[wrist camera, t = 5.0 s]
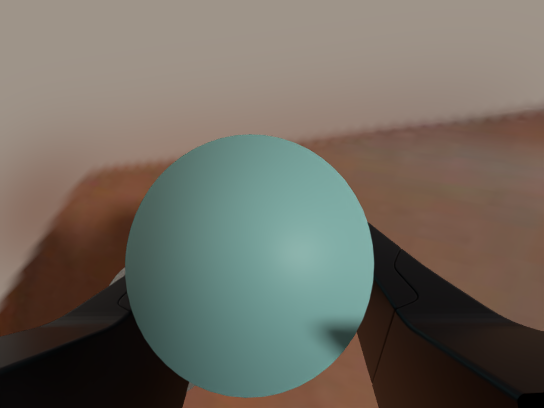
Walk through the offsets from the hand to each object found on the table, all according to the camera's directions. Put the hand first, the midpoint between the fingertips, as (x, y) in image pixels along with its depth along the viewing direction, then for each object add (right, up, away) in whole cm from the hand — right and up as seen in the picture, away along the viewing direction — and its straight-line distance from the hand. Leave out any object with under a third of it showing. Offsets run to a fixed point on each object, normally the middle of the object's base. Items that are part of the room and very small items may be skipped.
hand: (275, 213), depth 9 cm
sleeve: (+1, -2, +6) cm, 7 cm away
